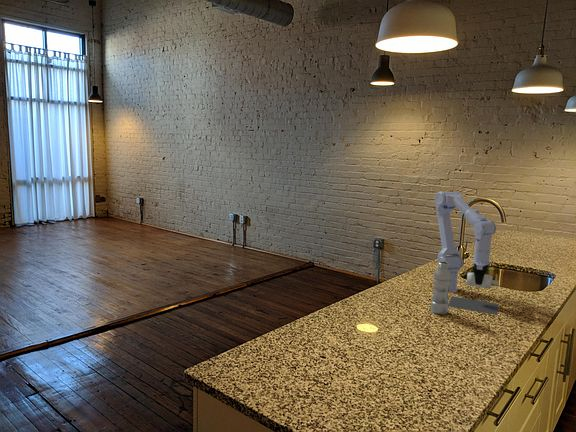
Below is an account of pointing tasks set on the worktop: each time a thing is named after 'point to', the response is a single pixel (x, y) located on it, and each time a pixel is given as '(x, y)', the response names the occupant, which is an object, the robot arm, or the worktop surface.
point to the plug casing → (485, 284)
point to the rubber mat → (474, 305)
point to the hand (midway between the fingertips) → (478, 282)
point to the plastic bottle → (441, 289)
